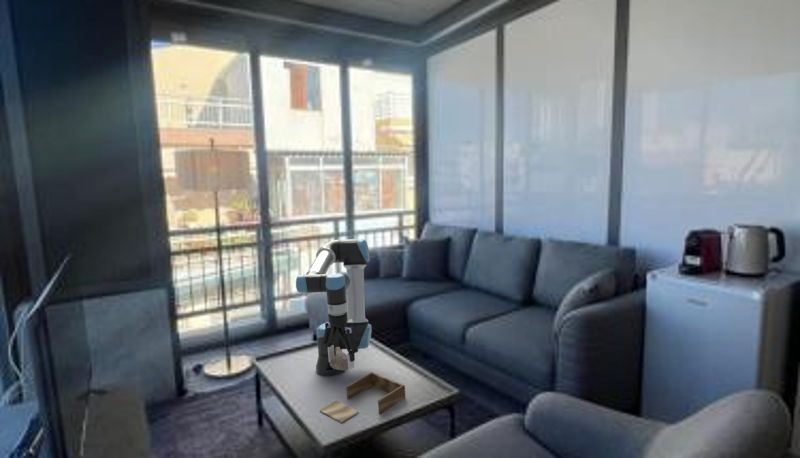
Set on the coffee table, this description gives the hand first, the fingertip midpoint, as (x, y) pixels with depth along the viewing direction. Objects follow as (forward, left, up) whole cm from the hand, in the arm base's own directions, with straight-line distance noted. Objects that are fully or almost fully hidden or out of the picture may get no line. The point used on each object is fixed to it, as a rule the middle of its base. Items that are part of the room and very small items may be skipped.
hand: (341, 364), depth 179 cm
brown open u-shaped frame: (+4, +14, -20) cm, 25 cm away
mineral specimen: (-1, 0, -1) cm, 2 cm away
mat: (-1, -2, -20) cm, 20 cm away
